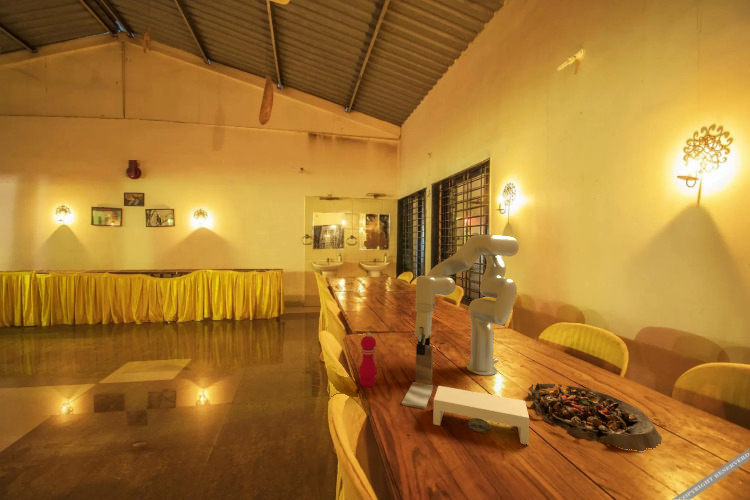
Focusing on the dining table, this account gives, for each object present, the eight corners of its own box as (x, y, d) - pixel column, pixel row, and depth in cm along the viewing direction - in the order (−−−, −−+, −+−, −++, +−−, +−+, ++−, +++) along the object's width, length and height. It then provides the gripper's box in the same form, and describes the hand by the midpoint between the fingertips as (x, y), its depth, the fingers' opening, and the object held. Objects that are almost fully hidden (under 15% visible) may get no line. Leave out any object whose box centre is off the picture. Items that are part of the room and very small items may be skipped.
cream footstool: (438, 408, 101) (438, 385, 101) (524, 425, 92) (524, 400, 92) (433, 424, 91) (433, 399, 91) (528, 445, 82) (529, 417, 82)
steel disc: (476, 419, 95) (476, 416, 95) (493, 429, 90) (493, 425, 90) (464, 425, 91) (464, 422, 91) (481, 436, 86) (481, 432, 86)
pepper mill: (374, 388, 114) (375, 335, 114) (356, 386, 116) (357, 334, 116) (378, 380, 121) (379, 330, 121) (360, 378, 123) (361, 329, 123)
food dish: (505, 404, 107) (505, 381, 107) (567, 390, 120) (567, 370, 120) (618, 467, 74) (618, 435, 75) (686, 438, 88) (686, 411, 88)
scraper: (414, 380, 121) (415, 343, 121) (434, 384, 118) (435, 346, 118) (401, 404, 102) (402, 360, 102) (424, 409, 100) (425, 364, 100)
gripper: (420, 303, 128) (418, 343, 127) (410, 310, 111) (408, 356, 111) (437, 305, 125) (436, 346, 125) (430, 312, 109) (428, 359, 109)
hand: (423, 351), depth 118 cm, fingers open, 9 cm apart
